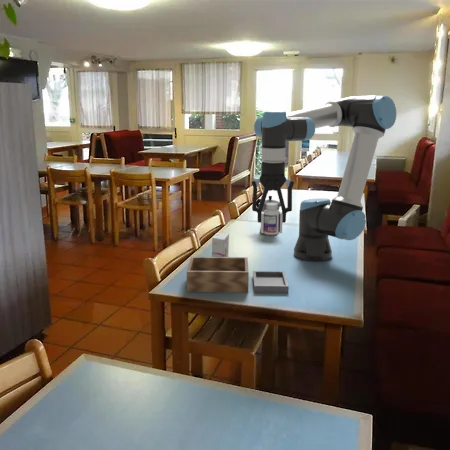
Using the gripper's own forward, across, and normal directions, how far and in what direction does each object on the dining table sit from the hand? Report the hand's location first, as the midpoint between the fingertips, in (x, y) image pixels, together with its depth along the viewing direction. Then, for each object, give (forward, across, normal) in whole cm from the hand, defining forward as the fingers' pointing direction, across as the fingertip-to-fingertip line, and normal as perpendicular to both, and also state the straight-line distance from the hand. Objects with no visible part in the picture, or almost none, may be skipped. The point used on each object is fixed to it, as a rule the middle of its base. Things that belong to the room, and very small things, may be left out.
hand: (271, 231), depth 151 cm
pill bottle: (+1, 0, 0) cm, 1 cm away
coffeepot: (+19, -4, -66) cm, 69 cm away
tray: (+19, 0, 0) cm, 19 cm away
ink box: (+19, +18, -19) cm, 32 cm away
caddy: (+19, +18, 0) cm, 26 cm away
